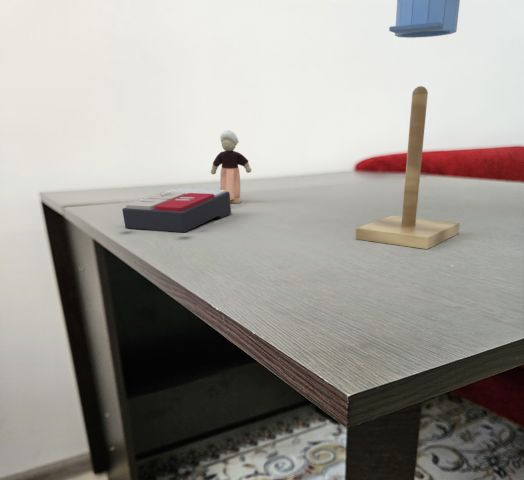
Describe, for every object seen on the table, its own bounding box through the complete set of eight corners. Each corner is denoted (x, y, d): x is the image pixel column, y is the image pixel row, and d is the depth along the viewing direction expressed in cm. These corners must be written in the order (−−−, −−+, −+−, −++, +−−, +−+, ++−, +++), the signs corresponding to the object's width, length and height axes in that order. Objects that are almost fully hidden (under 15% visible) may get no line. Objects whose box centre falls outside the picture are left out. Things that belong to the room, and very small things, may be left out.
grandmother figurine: (211, 204, 98) (206, 131, 92) (213, 201, 101) (208, 130, 96) (252, 203, 98) (249, 130, 92) (252, 200, 101) (250, 129, 96)
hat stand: (390, 225, 76) (400, 88, 69) (458, 234, 70) (477, 84, 63) (355, 239, 69) (362, 88, 62) (427, 249, 63) (444, 83, 56)
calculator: (119, 203, 79) (174, 185, 91) (124, 232, 81) (177, 210, 93) (181, 207, 74) (230, 186, 86) (185, 236, 76) (232, 213, 88)
